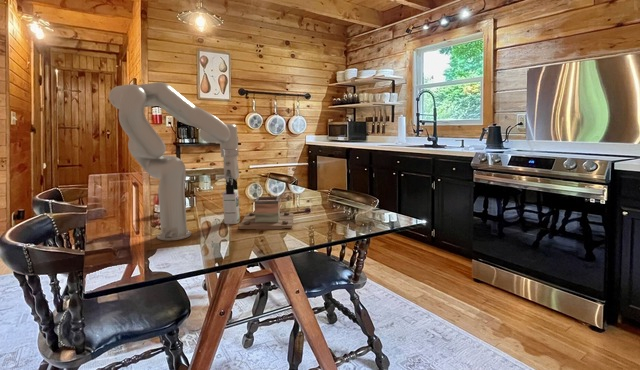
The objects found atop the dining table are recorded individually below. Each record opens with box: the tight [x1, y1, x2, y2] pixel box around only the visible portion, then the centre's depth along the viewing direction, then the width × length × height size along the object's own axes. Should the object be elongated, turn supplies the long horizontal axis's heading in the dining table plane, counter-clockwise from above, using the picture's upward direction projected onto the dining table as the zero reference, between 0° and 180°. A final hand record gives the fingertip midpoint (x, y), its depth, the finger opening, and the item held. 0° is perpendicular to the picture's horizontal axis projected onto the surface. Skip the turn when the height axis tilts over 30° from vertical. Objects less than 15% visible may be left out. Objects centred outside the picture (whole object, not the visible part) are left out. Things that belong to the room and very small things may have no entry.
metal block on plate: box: [238, 196, 294, 230], centre depth 174 cm, size 22×22×11 cm
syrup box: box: [222, 189, 241, 225], centre depth 174 cm, size 6×6×14 cm
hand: (232, 191), depth 174 cm, fingers open, 9 cm apart
